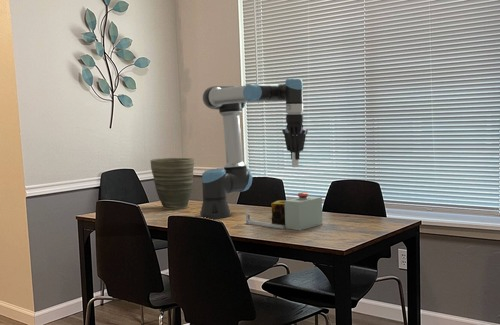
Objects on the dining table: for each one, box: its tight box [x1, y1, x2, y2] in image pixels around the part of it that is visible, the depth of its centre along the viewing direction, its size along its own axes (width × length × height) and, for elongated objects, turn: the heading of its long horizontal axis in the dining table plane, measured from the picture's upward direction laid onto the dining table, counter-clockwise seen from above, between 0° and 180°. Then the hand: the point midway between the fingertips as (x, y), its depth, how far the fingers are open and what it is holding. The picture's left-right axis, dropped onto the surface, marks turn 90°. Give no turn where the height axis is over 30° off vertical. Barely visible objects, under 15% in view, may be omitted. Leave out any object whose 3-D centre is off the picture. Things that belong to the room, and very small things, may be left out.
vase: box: [150, 157, 195, 211], centre depth 314 cm, size 25×24×30 cm
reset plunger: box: [297, 192, 309, 200], centre depth 247 cm, size 4×4×8 cm
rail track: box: [245, 214, 286, 230], centre depth 258 cm, size 22×19×4 cm
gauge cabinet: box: [283, 195, 323, 231], centre depth 248 cm, size 9×16×12 cm, turn 136°
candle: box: [271, 200, 285, 225], centre depth 255 cm, size 10×10×10 cm
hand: (295, 166), depth 252 cm, fingers closed
